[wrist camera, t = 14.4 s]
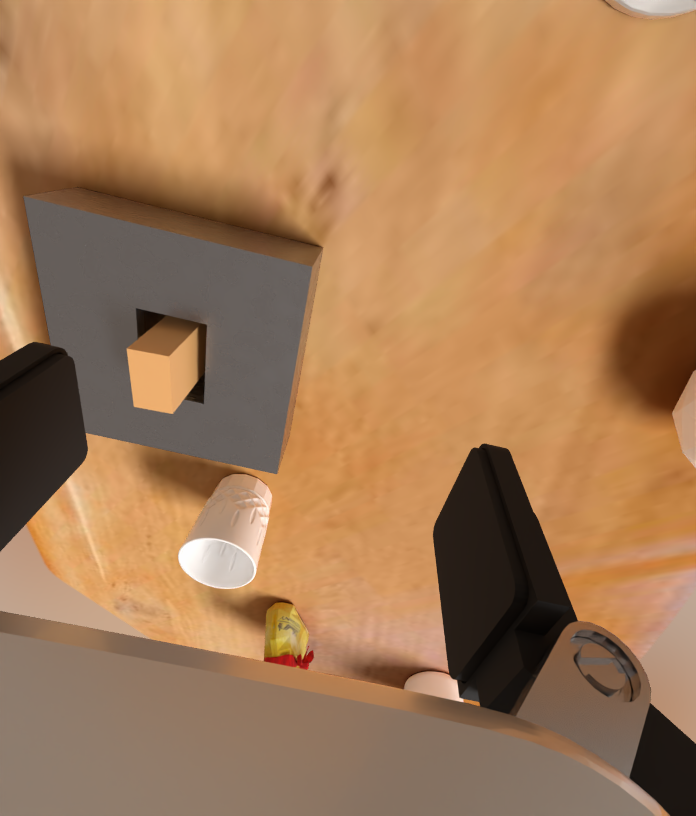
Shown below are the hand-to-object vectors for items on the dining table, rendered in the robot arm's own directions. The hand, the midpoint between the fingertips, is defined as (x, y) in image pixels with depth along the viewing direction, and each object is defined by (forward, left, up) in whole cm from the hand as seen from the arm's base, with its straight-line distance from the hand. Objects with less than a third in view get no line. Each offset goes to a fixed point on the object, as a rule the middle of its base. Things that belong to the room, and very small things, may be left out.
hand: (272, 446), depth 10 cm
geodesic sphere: (-36, +5, -28) cm, 46 cm away
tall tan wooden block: (+12, +12, -28) cm, 33 cm away
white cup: (+6, +32, -28) cm, 43 cm away
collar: (+12, +12, -28) cm, 33 cm away
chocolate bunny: (-4, +56, -28) cm, 63 cm away
